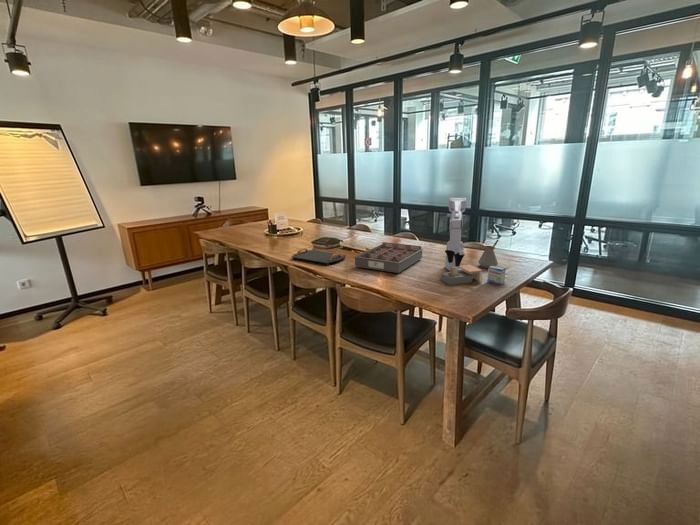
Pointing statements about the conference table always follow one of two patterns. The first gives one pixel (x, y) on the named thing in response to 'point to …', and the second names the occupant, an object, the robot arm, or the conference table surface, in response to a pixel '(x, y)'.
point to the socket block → (457, 278)
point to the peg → (453, 271)
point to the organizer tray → (389, 257)
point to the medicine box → (496, 275)
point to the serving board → (318, 256)
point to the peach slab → (472, 271)
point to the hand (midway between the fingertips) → (453, 264)
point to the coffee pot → (488, 257)
